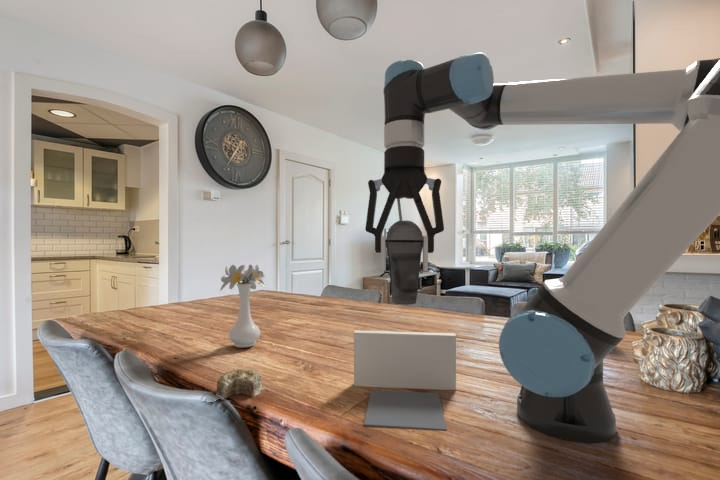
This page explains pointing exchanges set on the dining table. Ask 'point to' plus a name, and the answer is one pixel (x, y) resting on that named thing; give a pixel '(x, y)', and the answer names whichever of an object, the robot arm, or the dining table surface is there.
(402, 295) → the beverage cup
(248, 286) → the flower vase
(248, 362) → the dining table surface
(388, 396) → the mat
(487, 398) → the dining table surface
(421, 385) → the screen
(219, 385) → the cake
